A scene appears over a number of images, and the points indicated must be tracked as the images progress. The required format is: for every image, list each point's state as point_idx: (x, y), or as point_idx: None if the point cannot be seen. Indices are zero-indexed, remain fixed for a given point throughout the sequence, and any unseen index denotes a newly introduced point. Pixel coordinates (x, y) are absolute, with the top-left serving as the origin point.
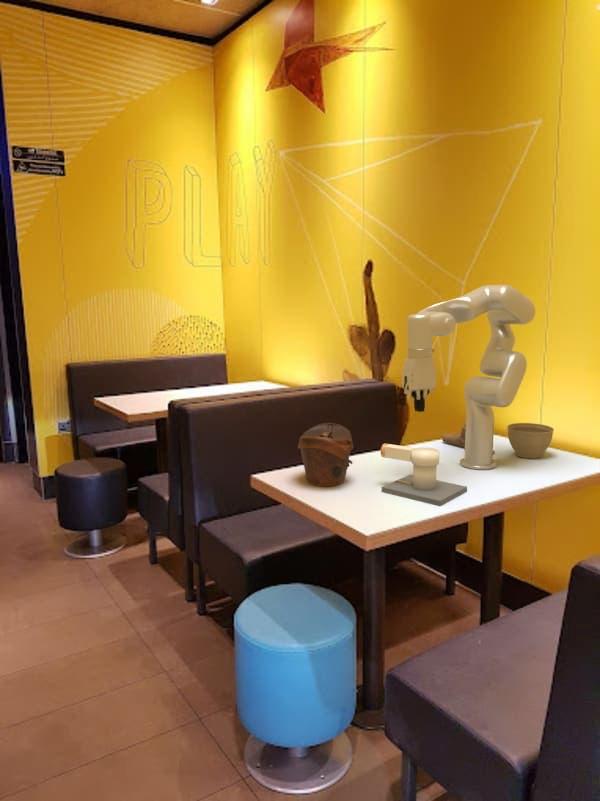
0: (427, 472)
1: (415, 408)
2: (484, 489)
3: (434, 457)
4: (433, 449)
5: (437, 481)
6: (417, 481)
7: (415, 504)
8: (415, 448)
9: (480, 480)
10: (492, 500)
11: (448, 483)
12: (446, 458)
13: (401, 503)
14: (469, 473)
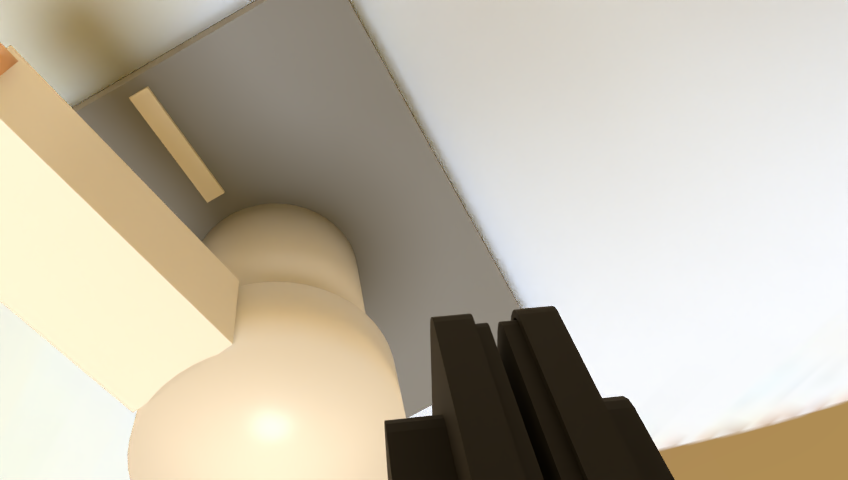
0: None
1: (387, 458)
2: (649, 327)
3: None
4: (379, 437)
5: (432, 205)
6: None
7: (111, 436)
8: (220, 364)
9: (765, 176)
10: None
11: (475, 264)
12: None
13: (28, 405)
14: (833, 6)
